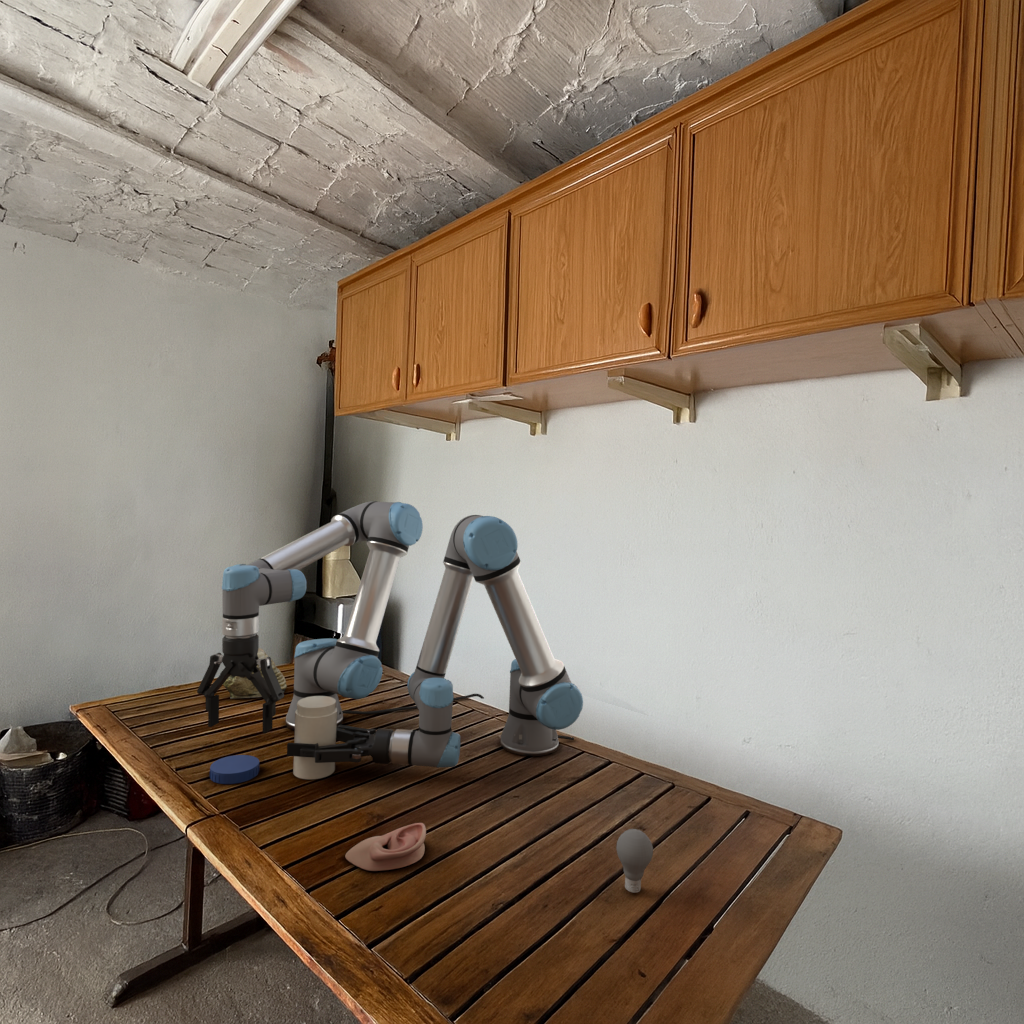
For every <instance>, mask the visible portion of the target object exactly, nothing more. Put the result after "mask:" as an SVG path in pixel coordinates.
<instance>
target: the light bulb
mask: <svg viewBox="0 0 1024 1024" xmlns="http://www.w3.org/2000/svg"><path fill="white" fill-rule="evenodd" d="M615 849H616V854H617V857H618V859H619V861H620V863H621V865H622V867H623V873H624V874H623V875H624V876H625V878H624V888H625V890H627V891H628V892H630V893H634V894H635V893H639V892H640V891H641V889H642V887H641V886H642V879H643V877H644V875H645V871H646V868H647V867H648V866H649V864H650V863H651V861H652V859H653V855H654V847H653V843H652V841H651V838H649V836H648V835H647V834H646V833H645V832H643V831H642V830H641V829H636V828H629V829H627V830H625V831H623V832H622V833H621V834H620V835H619V837H618V839H617V841H616V847H615Z"/></svg>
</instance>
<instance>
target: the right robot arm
mask: <svg viewBox="0 0 1024 1024" xmlns="http://www.w3.org/2000/svg"><path fill="white" fill-rule="evenodd" d="M518 544H519V543H518V537H517V534H516V532H515V531H514V529H513V528H512V527H511V525H510V524H509V523H507V522H506V521H504V520H502V519H501V518H500V517H497V516H492V515H481V514H471V515H467V516H465V517H463V518H462V519H460V520H459V521H458V522H457V523H456V524H455V526H454V527H453V529H452V531H451V534H450V537H449V540H448V543H447V547H446V551H445V553H444V558H443V561H442V563H443V565H444V567H445V569H444V572H443V575H442V579H441V582H440V586H439V589H438V592H437V596H436V599H435V602H434V606H433V609H432V612H431V615H430V620H429V623H428V626H427V629H426V632H425V636H424V639H423V643H422V646H421V649H420V653H419V656H418V659H417V663H416V667H415V668H414V671H413V672H412V673H411V674H410V675H409V677H408V679H407V684H406V686H407V690H408V695H409V696H410V698H411V700H412V701H413V702H414V705H415V706H417V709H418V730H413V729H401V728H396V729H395V730H393V729H392V728H378V729H376V728H364V727H358V726H351V725H345V724H340V725H338V726H337V732H336V742H338V741H339V742H340V743H336V744H333V745H325V746H319V745H318V743H316V744H305V743H294V742H287V744H286V757H294V756H298V757H314V758H315V763H327V762H335V763H349V762H350V763H361V762H362V757H370V758H371V759H372V762H373V763H374V764H380V765H383V764H384V765H389V764H390V763H391V764H392V765H400V766H402V767H404V768H405V767H407V766H419V767H428V768H429V767H431V768H436V769H440V768H455V767H456V766H457V765H458V763H459V761H460V755H461V754H460V753H461V735H460V733H458V732H454V731H453V728H452V724H453V723H452V721H453V706H454V705H453V704H454V701H453V698H455V696H454V684H453V682H452V681H451V680H450V679H447V678H445V677H446V673H447V669H448V667H449V662H450V660H451V656H452V653H453V650H454V646H455V643H456V640H457V636H458V633H459V630H460V626H461V623H462V620H463V616H464V612H465V609H466V606H467V603H468V600H469V596H470V593H471V589H472V587H473V583H474V582H476V583H478V584H480V585H483V586H484V588H485V590H486V593H487V595H488V597H489V600H490V602H491V604H492V607H493V609H494V612H495V615H496V616H497V618H498V621H499V623H500V625H501V627H502V630H503V633H504V635H505V637H506V640H507V641H508V644H509V647H510V648H511V651H512V654H513V656H514V659H513V660H512V661H511V664H510V670H509V674H510V675H509V676H510V677H509V679H510V680H509V697H508V699H509V700H508V702H509V703H508V715H507V719H506V721H505V724H504V726H503V729H502V732H501V736H500V746H501V748H502V749H503V750H505V751H507V752H509V753H512V754H514V755H518V756H525V757H542V756H547V755H551V754H554V753H555V752H557V750H558V749H559V744H560V742H559V739H561V740H567V741H574V740H575V737H574V736H567V735H560V734H558V731H560V730H564V729H566V728H568V727H570V726H572V725H573V724H574V723H575V722H576V721H577V720H578V719H579V717H580V716H581V715H580V714H581V713H582V710H583V707H584V698H583V695H582V692H581V690H580V688H578V686H577V685H575V683H573V682H572V681H571V678H570V677H569V674H568V672H567V669H566V666H565V663H564V662H563V661H562V660H560V659H557V658H555V656H554V654H553V651H552V649H551V647H550V644H549V642H548V639H547V637H546V635H545V632H544V630H543V628H542V625H541V623H540V621H539V618H538V616H537V613H536V611H535V608H534V606H533V604H532V602H531V599H530V596H529V594H528V592H527V590H526V587H525V585H524V581H523V580H522V577H521V575H520V572H519V568H520V566H521V565H522V564H521V563H522V561H521V558H520V556H519V553H518ZM571 737H572V738H571Z"/></svg>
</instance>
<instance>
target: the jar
mask: <svg viewBox="0 0 1024 1024" xmlns="http://www.w3.org/2000/svg"><path fill="white" fill-rule="evenodd" d="M337 728H338V726H337V708H336V700H335V699H334V698H332V697H328V696H311V697H306V698H303V699H301V700H299V701H298V703H297V710H296V711H295V730H294V732H293V733H294V737H293V743H305V744H316V743H318V745H319V746H325V745H333V744H337V741H336V732H337ZM292 760H293V761H292V774H293V775H294V777H296V778H298V779H301V780H320V779H324V778H326V777H329V776H331V775H332V774H333V773H335V771H336V762H327V763H315V758H314V757H298V756H293V759H292Z"/></svg>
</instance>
